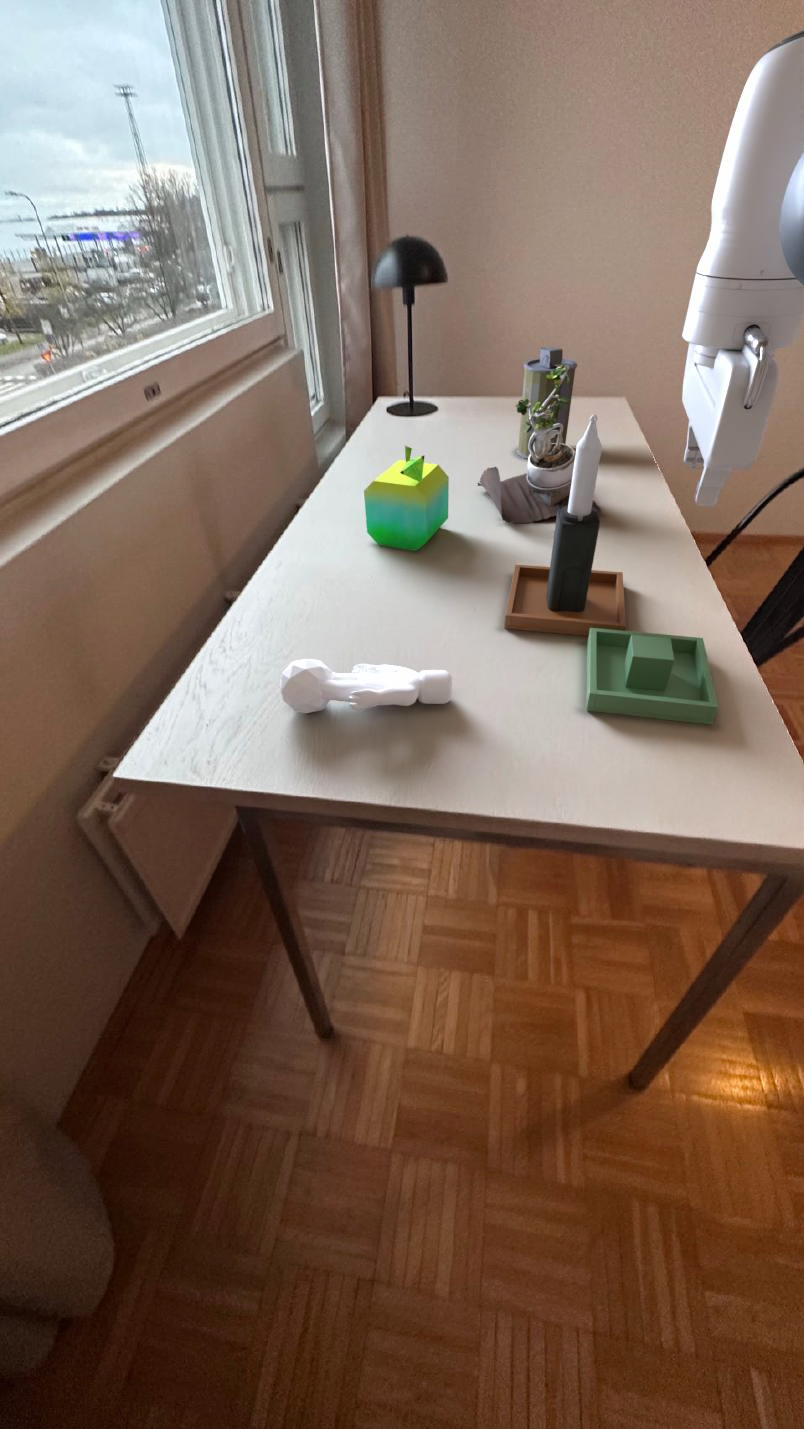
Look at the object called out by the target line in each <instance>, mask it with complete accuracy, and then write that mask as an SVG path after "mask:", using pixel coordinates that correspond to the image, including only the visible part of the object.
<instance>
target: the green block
mask: <svg viewBox="0 0 804 1429" xmlns="http://www.w3.org/2000/svg"><path fill="white" fill-rule="evenodd" d="M673 663H674V655H673V649H672V643H671V638H662V637H650V636H639V635H631V637H630V641H629V645H628V650H627V654H626V658H625V662H624V675H625V687H630V688H639V689H649V690H658V691H665V690H666V686H667V683H668V680H669V676H670V673H671V670H672V667H673Z"/></svg>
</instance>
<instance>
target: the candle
mask: <svg viewBox="0 0 804 1429" xmlns="http://www.w3.org/2000/svg"><path fill="white" fill-rule="evenodd" d="M597 421H598V416H597V415H596V414H592V415H591V416H590V417H589V423H588V425H587V428H586V430H585V432H584V434H583V437H582V438H581V439H580V440H579V441H578V442H577V444H576V449H575V462H574V469H573V476H572V483H571V490H570V497H569V504H568V505H567V506H564V507H563V508H562V509H560V510H558V512H557V516H556V519H555V526H554V535H553V543H552V549H551V558H550V564H549V567H550V572H549V579H548V587H547V595H546V599H547V606H548V609H549V610H551V611H555V612H558V611H575V612H581V611H583V610H584V609H585V604H586V599H587V593H588V587H589V582H590V576H591V571H592V570H593V564H594V559H595V553H596V548H597V542H598V537H599V531H600V526H601V520H600V518H599V513H598V511H599V510H596V509H595V508H593V507H592V503H593V500H594V497H595V496H594V495H595V490H596V485H597V478H598V473H599V466H600V462H601V454H602V448H603V445H602V442H601V440H600V438H599V435H598V428H597Z"/></svg>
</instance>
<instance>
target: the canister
mask: <svg viewBox="0 0 804 1429" xmlns="http://www.w3.org/2000/svg"><path fill="white" fill-rule="evenodd" d="M539 351H540V354H539V355H540V356H539V358H534V359H530V360H527V361H525V362H524V364H523V367H524V374H523V385H522V386H523V387H522V398H521V400H523V401H525V399H528V400H529V403H528V404H527V405H526V406H527V407H528V406H529V404H532V408H533V407H534V406H535V404H536V403H537V402H540V403H541V405H540V407H541V406H542V405H543V403H544V402H545V400H547V399H548V397H549V396H550V395H551V393H552V392H553V391H554V389H555V384H554V381H553V380H548V379H547V375H550V373H551V371H553V372H554V373H555V372H556V370H557V369H556V368H558V367H561V366H562V365H563V364H564V365H565V367H567V366H569V370H568V371H567V375H568V376H569V383H567V384H566V378H564V380H563V382H562V383H561V385H560V387H559V390H556V392H555V393H554V396H556V395H559V397H560V398H559V399H561V398H563V397H566V398H568V399H569V402H568V403H566V404H565V403H564V405H563V406H562V407H561V411H560V410H558V409H557V410H556V411H555V412H554V414H553V415H554V416H555V418H556V423H555V422H554V421H552V420H551V422H553V425H554V424H557V423H560V424H562V425H563V432H562V437H563V442H562V443H561V444H565V445H567V436H568V429H569V428H568V427H569V420H570V412H571V404H572V397H573V389H574V382H575V376H576V375H575V374H576V369H577V367H578V363H577V362H576V361H574V360H572V359H569V358H564V357H563V352H564V350H563V348H560V347H556V346H555V347H554V346H550V345H549V346H544V347H543V346H542V347H540V349H539ZM558 370H559V369H558ZM562 374H564V373H562ZM550 376H551V375H550ZM559 376H560V375H559ZM555 401H556V404H558V402H559V400H558V399H557V398H556V399H550V400H549V402H548V403H547V404H546V407H545V408H543V410H545V411H546V410H548V407H549V406H550V405H553V404H554V402H555ZM562 404H563V403H562ZM540 407H539V409H540ZM535 410H536V407H535ZM537 410H538V409H537ZM541 413H543V412H541ZM541 413H540V414H541ZM534 414H535V412H534V411H533V415H534ZM548 414H550V413H548ZM551 414H552V412H551ZM549 416H550V415H549ZM542 417H546V416H545V414H544V415H543V416H542ZM527 418H529V409H528V408H527V413H526V414H525V415H522V414H521V413H520V422H519V435H518V436H519V437H518V448H517V449H516V453H517V455H518V456H519V457H521V458H523V459H527V460H528V458H529V455H530V452H529V450H528V444H529V440H530V438H531V436H532V435H533V434H532V432H531V431H529V432H527V433H526V432H525V431H524V430H525V428H526V427H527V426H528V425H527V424H526V422H525V421H526V419H527ZM550 419H551V417H550V418H549V419H548V420H550ZM536 421H537V419H536ZM542 427H544V426H542ZM545 428H546V427H545ZM552 430H558V431H559V432H560V429H552ZM552 430H550V431H552ZM557 438H558V435H557V437H555V438H554V439H550V440H551V443H557ZM532 449H533V450H534V443H533V446H532Z"/></svg>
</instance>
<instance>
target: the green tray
mask: <svg viewBox="0 0 804 1429" xmlns="http://www.w3.org/2000/svg"><path fill="white" fill-rule="evenodd" d="M631 635H639V636H650V637H662V638H671V643H672V649H673V655H674V663H673V667H672V670H671V673H670V676H669V680H668V683H667V686H666V690H665V691H658V690H649V689H639V688H630V687H625V675H624V662H625V658H626V654H627V650H628V645H629V641H630V637H631ZM587 637H588V638H587V643H586V694H585V695H586V696H585V700H586V701H585V710H586V711H587V712H596V713H597V712H598V713H604V714H605V713H606V714H614V715H622V716H632V717H640V718H647V719H648V718H649V719H656V720H657V719H658V720H666V721H673V722H682V723H683V722H684V723H692V724H701V725H709V726H712V725H713V724H714V720H715V718H716V715H717V713H718V710H719V703H718V699H717V694H716V689H715V686H714V681H713V678H712V677H713V676H712V672H711V668H710V667H711V666H710V664H709V659H708V654H707V651H706V646H705V641H704V637H696V636H687V635H686V636H685V635H674V634H665V633H654V632H644V631H643V632H642V631H641V632H640V631H631V630H625V631H621V630H609V629H598V628H597V629H596V628H590V632H589V636H587Z"/></svg>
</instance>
